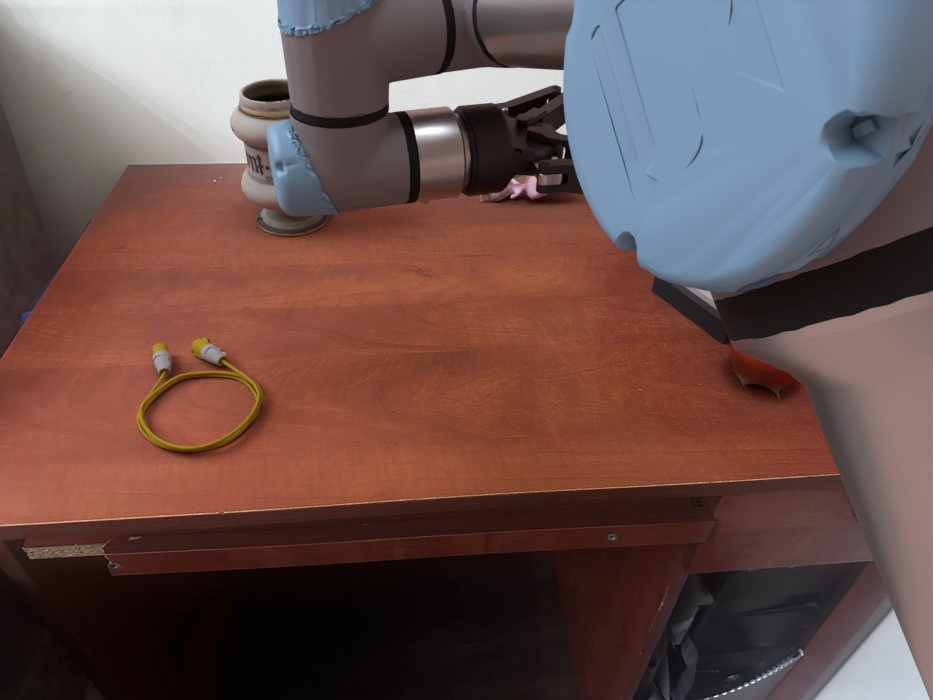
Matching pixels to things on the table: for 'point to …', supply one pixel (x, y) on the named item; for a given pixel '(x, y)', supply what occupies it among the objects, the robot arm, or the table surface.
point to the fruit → (759, 372)
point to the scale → (693, 306)
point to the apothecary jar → (266, 155)
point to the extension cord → (203, 351)
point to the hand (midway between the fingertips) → (673, 128)
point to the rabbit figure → (518, 189)
